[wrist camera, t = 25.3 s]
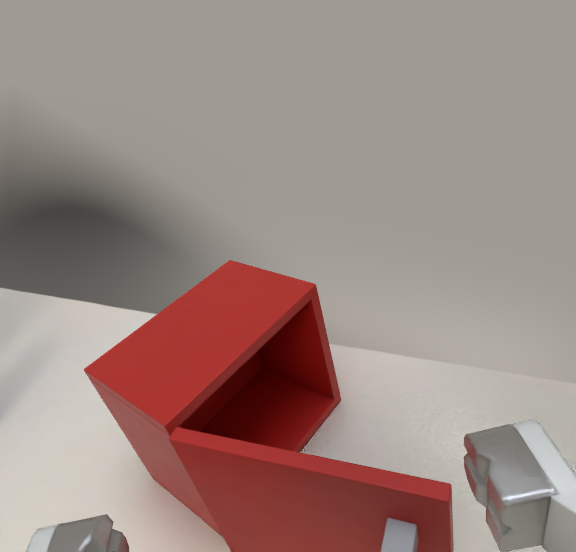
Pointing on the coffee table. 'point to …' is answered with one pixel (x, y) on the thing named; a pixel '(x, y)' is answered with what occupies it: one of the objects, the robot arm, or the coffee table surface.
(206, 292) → the cabinet
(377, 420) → the coffee table surface
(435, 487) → the red cabinet door
